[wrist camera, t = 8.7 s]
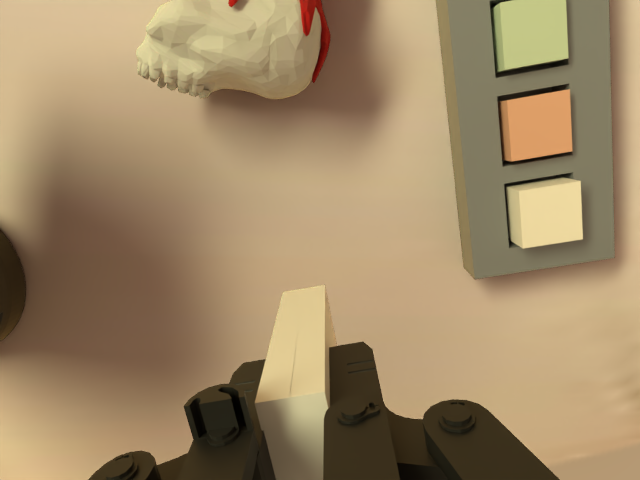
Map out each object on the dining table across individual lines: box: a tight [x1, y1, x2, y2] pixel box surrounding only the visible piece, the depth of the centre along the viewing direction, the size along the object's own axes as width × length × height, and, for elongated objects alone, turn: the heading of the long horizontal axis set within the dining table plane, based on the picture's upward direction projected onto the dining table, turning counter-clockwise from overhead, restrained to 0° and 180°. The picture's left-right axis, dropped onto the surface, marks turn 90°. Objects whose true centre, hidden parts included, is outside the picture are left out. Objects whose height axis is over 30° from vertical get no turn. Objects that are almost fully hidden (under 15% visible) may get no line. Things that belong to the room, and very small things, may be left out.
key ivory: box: [506, 177, 583, 249], centre depth 35 cm, size 4×4×3 cm
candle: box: [136, 0, 330, 99], centre depth 32 cm, size 9×11×15 cm
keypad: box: [436, 0, 615, 279], centre depth 35 cm, size 11×29×3 cm, turn 10°
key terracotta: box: [498, 89, 572, 162], centre depth 34 cm, size 4×4×3 cm
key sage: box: [490, 0, 568, 74], centre depth 33 cm, size 4×4×3 cm
